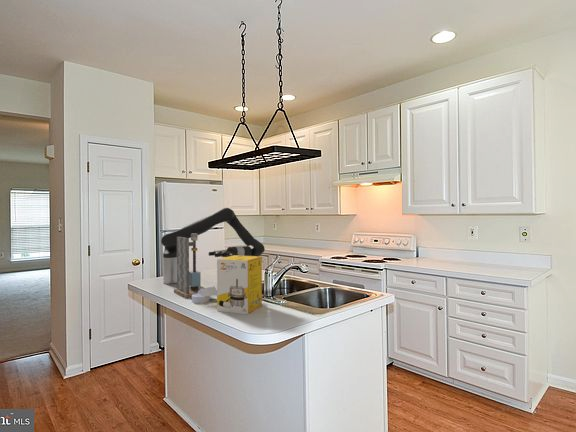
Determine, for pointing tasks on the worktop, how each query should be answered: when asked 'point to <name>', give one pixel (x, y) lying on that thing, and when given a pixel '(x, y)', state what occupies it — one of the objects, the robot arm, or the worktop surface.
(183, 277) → the grey rod stand
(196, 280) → the sleeve
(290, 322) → the worktop surface
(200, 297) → the wedge on round base
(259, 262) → the packaging box
